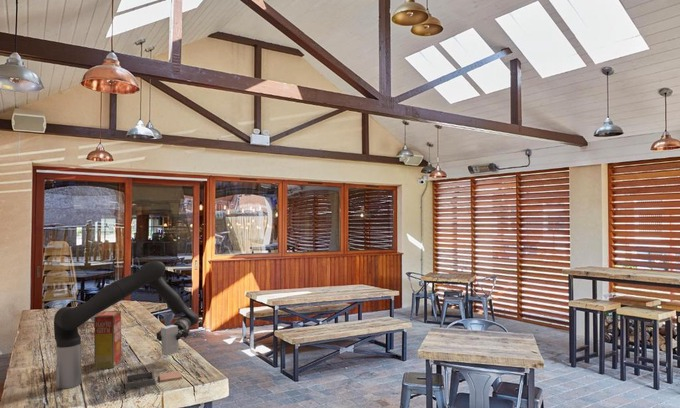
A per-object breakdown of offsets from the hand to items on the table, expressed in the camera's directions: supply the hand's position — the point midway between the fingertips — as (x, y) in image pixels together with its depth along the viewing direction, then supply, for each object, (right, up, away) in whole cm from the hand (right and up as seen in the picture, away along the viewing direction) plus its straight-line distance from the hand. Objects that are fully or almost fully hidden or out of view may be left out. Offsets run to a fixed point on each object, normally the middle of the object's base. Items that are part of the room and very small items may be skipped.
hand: (168, 338), depth 209 cm
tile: (0, -18, +2) cm, 18 cm away
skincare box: (0, -8, +2) cm, 8 cm away
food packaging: (-38, -20, +23) cm, 48 cm away
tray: (-11, -18, -3) cm, 21 cm away
